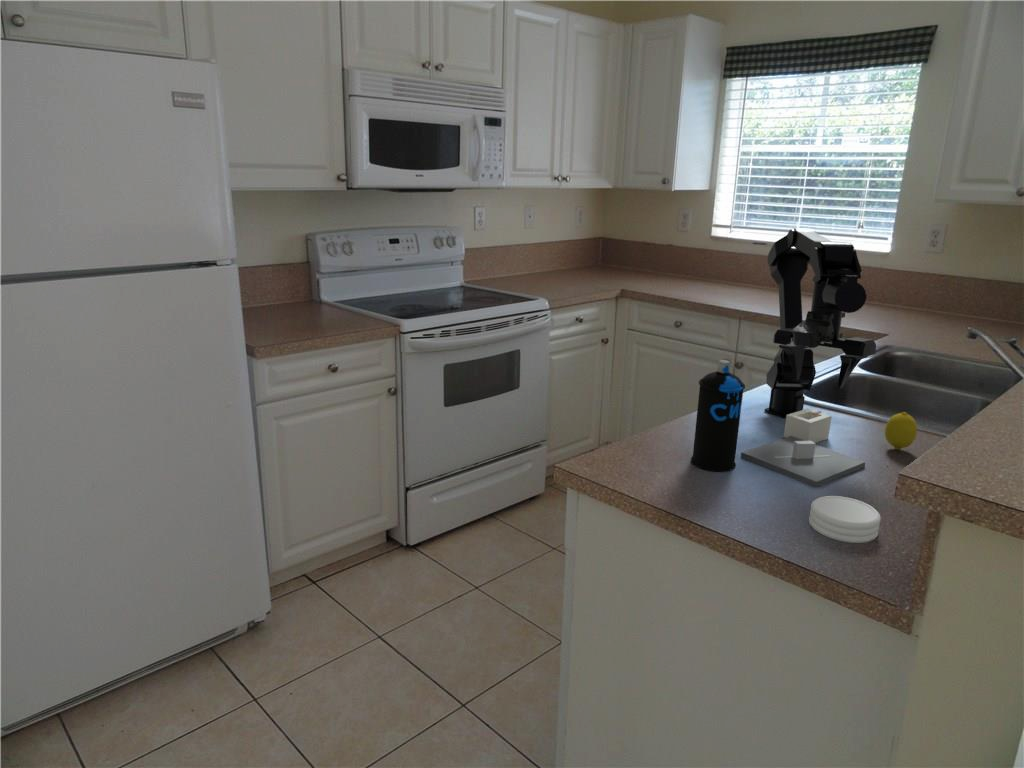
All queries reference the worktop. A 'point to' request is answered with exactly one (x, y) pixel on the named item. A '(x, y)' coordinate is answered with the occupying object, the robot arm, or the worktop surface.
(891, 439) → the lemon
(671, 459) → the worktop surface
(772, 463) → the grey peg base plate
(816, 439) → the square tube sleeve
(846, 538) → the white round flat disc
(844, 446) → the worktop surface
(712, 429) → the aerosol can
